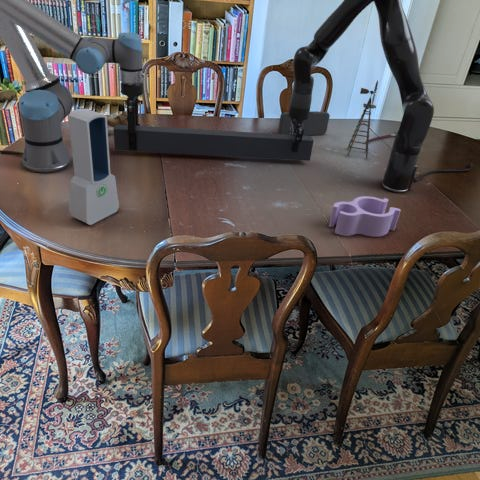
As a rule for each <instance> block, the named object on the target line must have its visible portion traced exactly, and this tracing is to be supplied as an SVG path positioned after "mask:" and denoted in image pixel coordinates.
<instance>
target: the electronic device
mask: <svg viewBox="0 0 480 480" xmlns="http://www.w3.org/2000/svg"><path fill="white" fill-rule="evenodd" d="M107 117H108V116H107V115H106V114H102V113H99V112H97V111H94V110H92V109H87V108H78V109H75V110H73V111H71V112H70V113H69V115H68V116H67V118H68V128H69V135H70V136H69V137H70V145H71V154H72V155H71V156H72V164H73V172H74V175H73V176H72V178H71V180H70V181H69V184H70V185H69V196H68V197H69V199H68V211H69V213H70V216H71V217H73V218H74V219H76V220H78V221H81V222H83V223H84V224H87V225H89V226H92V225H94V224H96V223H98V222H99V221H102V220H103V219H105V218H107V217H109V216H111V215H113V214H115V213H117V212H118V210H119V208H120V202H119V195H118V188H117V181H116V175H114V174H112V173H111V161H110V145H109V143H110V142H109V130H108V127H109V126H108V125H107Z"/></svg>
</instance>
